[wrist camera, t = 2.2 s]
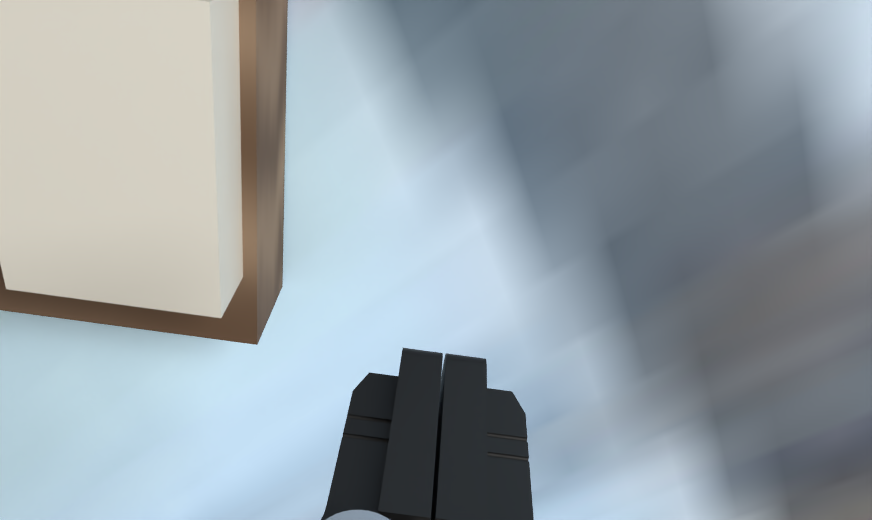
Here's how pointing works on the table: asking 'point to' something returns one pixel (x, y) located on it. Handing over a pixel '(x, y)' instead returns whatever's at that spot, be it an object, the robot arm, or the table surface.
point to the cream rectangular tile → (122, 151)
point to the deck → (260, 202)
